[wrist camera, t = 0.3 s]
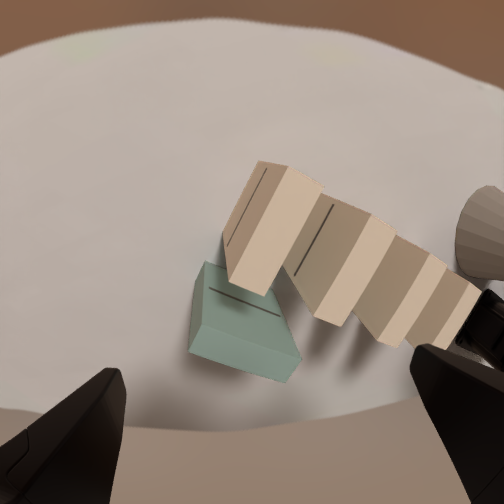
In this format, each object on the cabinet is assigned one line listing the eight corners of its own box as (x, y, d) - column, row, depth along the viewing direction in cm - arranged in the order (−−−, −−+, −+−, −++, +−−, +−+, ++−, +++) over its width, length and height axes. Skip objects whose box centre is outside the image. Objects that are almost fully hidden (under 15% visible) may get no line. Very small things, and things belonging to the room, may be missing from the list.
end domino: (413, 250, 22) (482, 291, 15) (381, 305, 23) (437, 362, 16) (399, 241, 22) (469, 282, 14) (366, 298, 23) (422, 357, 15)
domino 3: (333, 201, 20) (397, 231, 13) (298, 266, 21) (341, 327, 14) (313, 189, 20) (371, 214, 12) (277, 257, 21) (312, 315, 13)
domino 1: (281, 172, 19) (324, 186, 12) (245, 242, 20) (264, 296, 13) (258, 160, 19) (287, 165, 11) (222, 231, 20) (228, 281, 12)
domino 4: (377, 227, 21) (448, 265, 14) (343, 287, 22) (397, 348, 15) (360, 217, 21) (429, 253, 13) (325, 279, 22) (376, 340, 14)
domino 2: (205, 260, 20) (201, 323, 13) (272, 289, 22) (302, 358, 14) (195, 281, 21) (187, 352, 13) (261, 308, 22) (284, 383, 14)
